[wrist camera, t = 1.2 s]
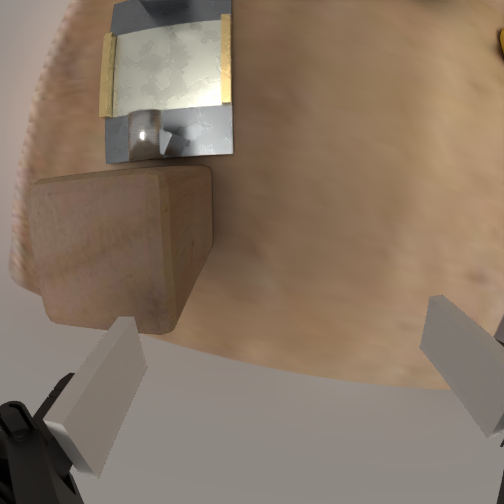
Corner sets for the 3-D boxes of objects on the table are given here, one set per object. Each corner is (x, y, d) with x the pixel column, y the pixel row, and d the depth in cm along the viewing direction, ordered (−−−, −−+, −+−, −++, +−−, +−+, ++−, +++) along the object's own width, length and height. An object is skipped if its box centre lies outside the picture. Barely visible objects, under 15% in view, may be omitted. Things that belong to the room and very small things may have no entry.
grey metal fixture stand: (118, 7, 27) (87, -24, 18) (232, -10, 27) (226, -53, 18) (111, 165, 34) (69, 168, 24) (233, 155, 34) (226, 152, 24)
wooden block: (214, 249, 37) (175, 342, 17) (135, 249, 37) (44, 327, 18) (212, 164, 34) (162, 167, 15) (130, 168, 34) (19, 182, 15)
